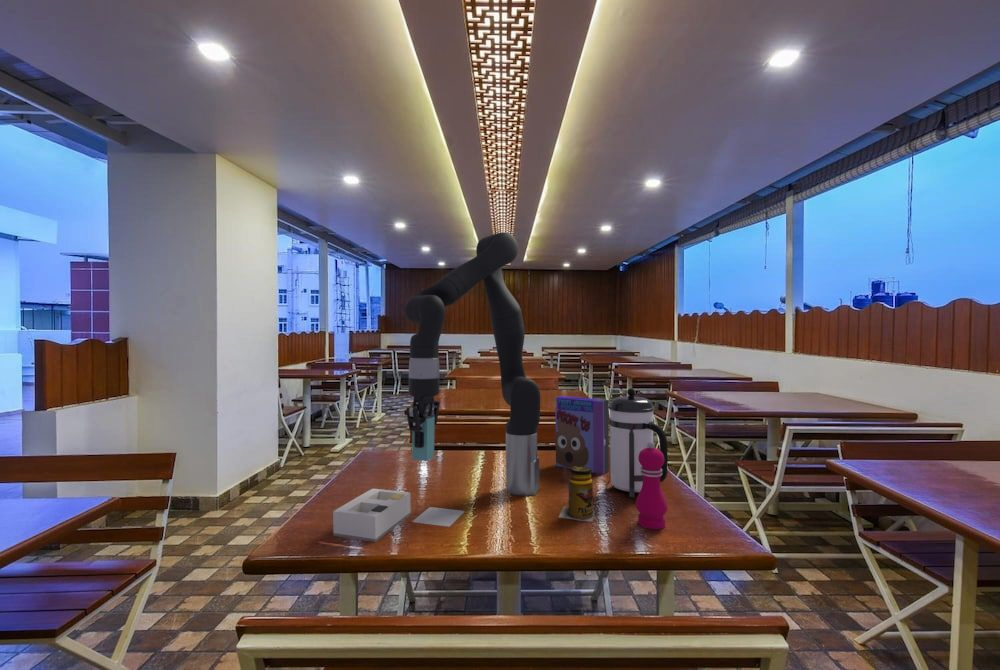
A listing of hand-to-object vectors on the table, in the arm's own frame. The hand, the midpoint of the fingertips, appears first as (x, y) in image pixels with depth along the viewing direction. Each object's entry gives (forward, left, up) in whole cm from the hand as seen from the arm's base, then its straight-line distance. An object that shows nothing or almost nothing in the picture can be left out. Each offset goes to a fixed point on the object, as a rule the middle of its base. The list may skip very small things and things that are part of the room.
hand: (423, 444), depth 115 cm
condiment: (-36, -15, -19) cm, 43 cm away
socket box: (+10, +6, -19) cm, 22 cm away
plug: (0, 0, -3) cm, 3 cm away
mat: (-3, -3, -19) cm, 19 cm away
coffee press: (-50, -36, -19) cm, 64 cm away
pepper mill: (-54, -14, -19) cm, 59 cm away
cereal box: (-32, -55, -19) cm, 66 cm away
